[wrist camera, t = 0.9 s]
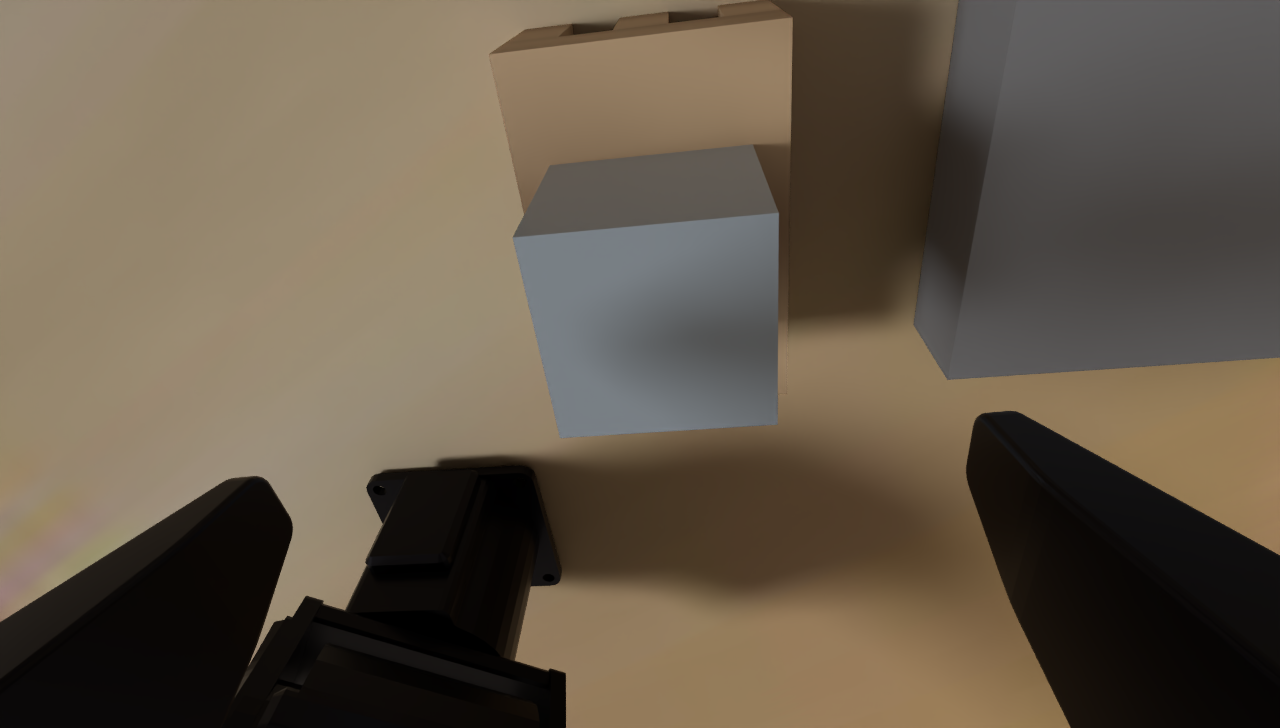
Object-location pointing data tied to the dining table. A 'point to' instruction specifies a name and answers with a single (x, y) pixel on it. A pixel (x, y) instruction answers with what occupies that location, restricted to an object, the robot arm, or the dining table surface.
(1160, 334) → the dock
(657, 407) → the grey cube
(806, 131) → the dining table surface
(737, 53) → the pallet
